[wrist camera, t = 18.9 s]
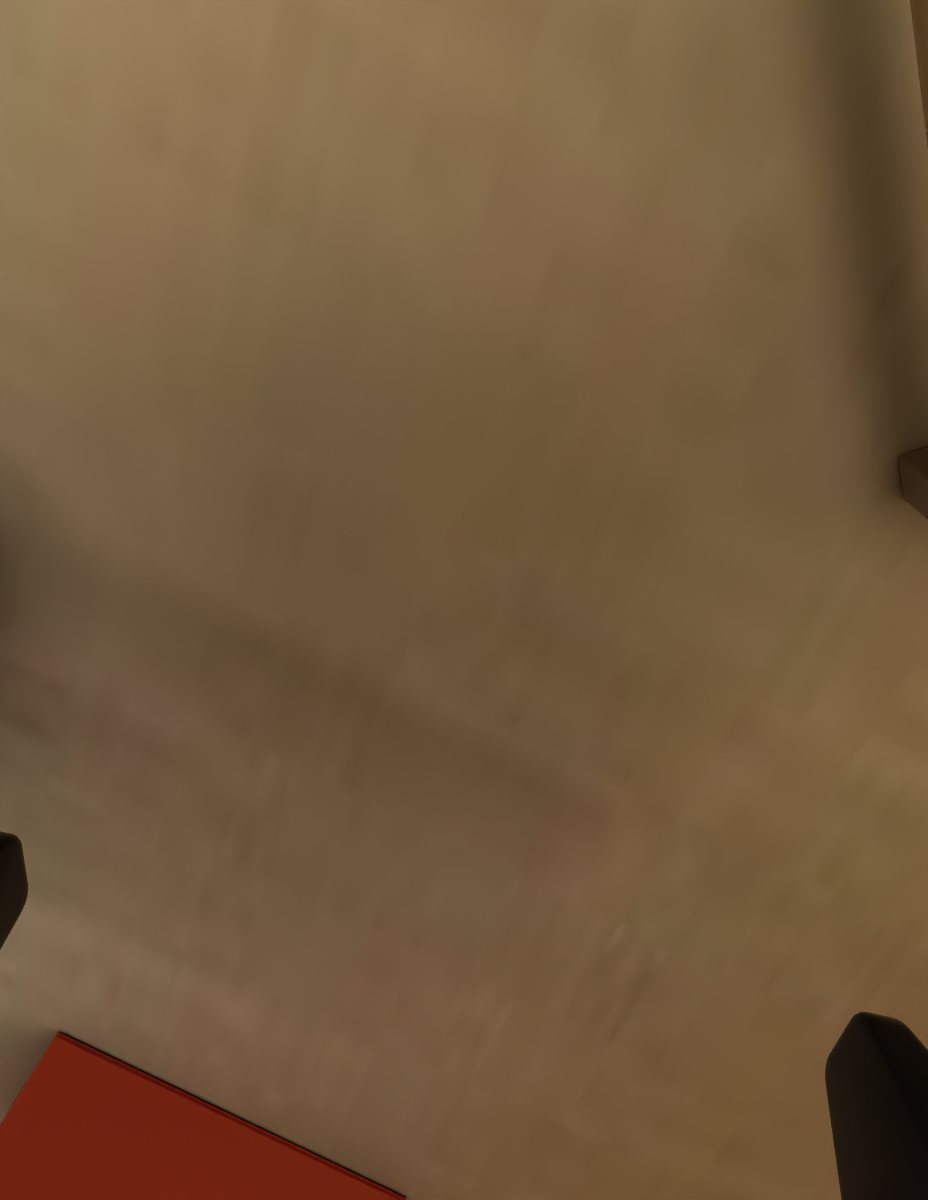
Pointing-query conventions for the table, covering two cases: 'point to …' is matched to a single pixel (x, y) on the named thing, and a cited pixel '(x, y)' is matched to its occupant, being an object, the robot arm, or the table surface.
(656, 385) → the table surface
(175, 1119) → the file binder
